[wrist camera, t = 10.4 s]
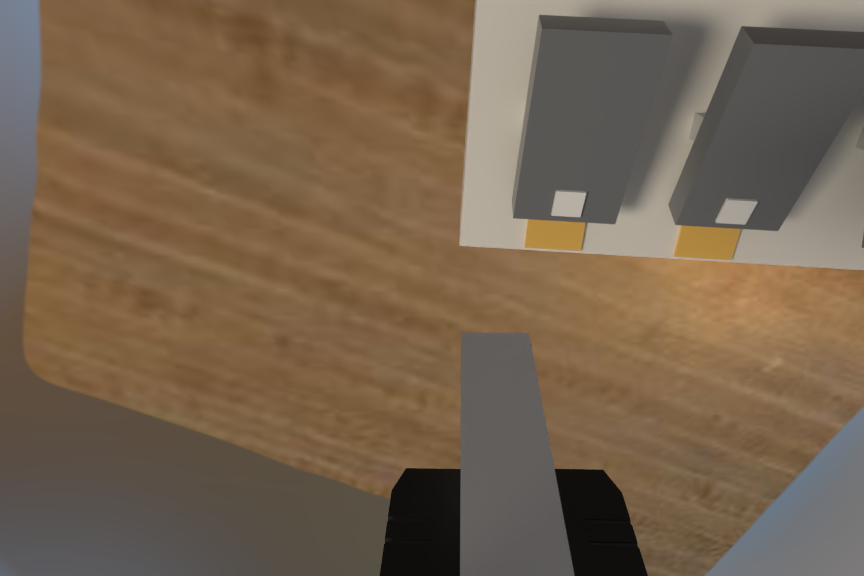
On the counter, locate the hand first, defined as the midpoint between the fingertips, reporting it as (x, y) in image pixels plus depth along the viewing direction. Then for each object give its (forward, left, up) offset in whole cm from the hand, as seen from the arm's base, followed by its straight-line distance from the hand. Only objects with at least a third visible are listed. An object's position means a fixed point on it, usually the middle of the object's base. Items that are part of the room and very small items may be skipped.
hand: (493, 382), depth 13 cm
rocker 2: (-3, +12, -16) cm, 20 cm away
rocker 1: (-3, +4, -16) cm, 16 cm away
